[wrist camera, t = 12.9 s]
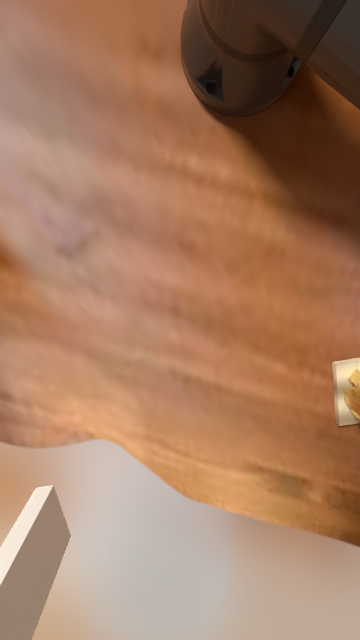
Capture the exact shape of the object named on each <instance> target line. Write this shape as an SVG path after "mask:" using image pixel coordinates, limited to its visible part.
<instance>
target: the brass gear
mask: <svg viewBox="0 0 360 640" xmlns="http://www.w3.org/2000/svg"><path fill="white" fill-rule="evenodd" d="M348 379H349V380H350V381H351V382H353V386H352V388H350V389H344V390H343V393H344V401H345V402H346V403H347V404H348V405H349V406H350V407H351V408H350V411H351V412H352V413H353V414H354V415H355V416H356V417H357V418H358V419H359V420H360V371H359V370H357V369H356V370H355V371H354V372H353V373H352V374H351V375H350V376H349V377H348Z"/></svg>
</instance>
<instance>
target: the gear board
mask: <svg viewBox="0 0 360 640" xmlns="http://www.w3.org/2000/svg"><path fill="white" fill-rule="evenodd" d="M332 366H333V383H334V399H335V416H336V423H337V424H338V425H339V426H344V425H350V424H357V423H360V420H359V419H358V418H357V417H356V416H355V415H354V414H353V413H352V412H351V411H350V408H351V407H350V406H349V405H348V404H347V403H346V402H345V401H344V393H343V390H344V389H350V388H352V386H353V382H351V381H350V380H349V379H348V377H349V376H350V375H351V374H352V373H353V372H354V371H355V370H356V369H357V370H359V371H360V358H355V359H349V360H343V361H336V362H332Z"/></svg>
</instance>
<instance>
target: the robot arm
mask: <svg viewBox="0 0 360 640" xmlns="http://www.w3.org/2000/svg"><path fill="white" fill-rule="evenodd" d="M181 60H182V65H183V69H184V73H185V76H186V78H187V81H188V83H189V85H190V86H191V88H192V90H193V91H194V93H195V94H196V95H197V97H198V98H199V99H200V100H201V101H202V102H203V103H204V104H206V105H207V106H208V107H210V108H211V109H213V110H215V111H217V112H219V113H222V114H226V115H230V116H246V115H251V114H254V113H257V112H259V111H262V110H263V109H265V108H267V107H269V106H270V105H271V104H273V103H274V102H275V101H276V100H277V99H278V98H279V97H280V96H281V95H282V94H283V93H284V92H285V90H286V89H287V87H288V86H289V84H290V83H291V81H292V80H293V79H294V77H295V75H296V74H297V72H298V70H299V68H300V65H301V63H303V64H304V65H306V66H307V67H308V68H309V69H310V70H312V71H313V72H314V73H315V74H317V75H318V76H319V77H320V78H321V79H323V80H324V81H325V82H326V83H328V84H329V85H330V86H331V87H332V88H334V89H335V90H336V91H337V92H339V93H340V94H341V95H342V96H343V97H345V98H346V99H347V100H348V101H349V102H351V103H352V104H353V105H354V106H356V107H357V108H358V109H359V110H360V0H188V3H187V5H186V8H185V12H184V15H183V20H182V26H181ZM304 62H305V63H304ZM70 537H71V535H70V532H69V529H68V527H67V523H66V520H65V517H64V515H63V512H62V509H61V506H60V503H59V500H58V497H57V494H56V491H55V488H54V486H53V485H51V486H45V487H38V488H36V489H35V491H34V492H33V494H32V496H31V497H30V499H29V501H28V502H27V504H26V506H25V507H24V509H23V511H22V512H21V514H20V516H19V517H18V519H17V521H16V523H15V524H14V526H13V527H12V529H11V531H10V532H9V534H8V536H7V537H6V539H5V541H4V543H3V544H2V546H1V548H0V640H32V637H33V634H34V632H35V629H36V626H37V624H38V621H39V618H40V616H41V613H42V610H43V608H44V605H45V603H46V600H47V597H48V595H49V592H50V589H51V587H52V584H53V582H54V579H55V576H56V574H57V571H58V568H59V566H60V563H61V560H62V558H63V555H64V553H65V550H66V547H67V545H68V542H69V539H70Z"/></svg>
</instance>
